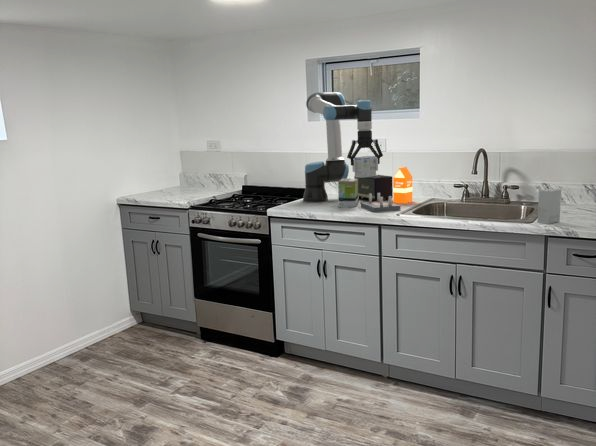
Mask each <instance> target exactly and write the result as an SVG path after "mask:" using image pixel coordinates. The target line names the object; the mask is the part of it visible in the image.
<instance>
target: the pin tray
mask: <svg viewBox="0 0 596 446" xmlns="http://www.w3.org/2000/svg"><path fill="white" fill-rule="evenodd" d="M392 199H393V197H392V196H389V200H384V199H383V197H380V193H377V201H376V202H375V201H373V199H372V193H369V199H368V201H367V202H360V208H362V209H364V210H367V211H370V212H371V213H382V212H383V213H384V212H395V211H401V205H400V204H398V203H394V202H393V200H392Z"/></svg>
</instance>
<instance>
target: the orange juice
mask: <svg viewBox="0 0 596 446" xmlns="http://www.w3.org/2000/svg"><path fill="white" fill-rule="evenodd" d="M392 188H393V203H394V202H395V203H394V204H408V202H409V203H411V202H413V176H412V174H411V172H410V171H409V169H408V167H407V166H403V167H399V168H398V170H397V171H396V173H395V174H394V176H392Z"/></svg>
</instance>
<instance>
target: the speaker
mask: <svg viewBox="0 0 596 446" xmlns="http://www.w3.org/2000/svg"><path fill="white" fill-rule="evenodd" d="M353 179H358V200H359V199H362V198H363V199H368V200H369V193H372V201H373V202H377V193H380V197H383V200H385V201H389V196H392V198H394V194H393V176H392V175H382V174H376V176H371V177H364V178H360V177H355V175H354V177H353Z"/></svg>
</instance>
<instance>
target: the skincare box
mask: <svg viewBox="0 0 596 446" xmlns="http://www.w3.org/2000/svg"><path fill="white" fill-rule="evenodd" d="M561 200H562V189H558V188H552V187H550V188H546V189H540V190H538V200H537V202H538V203H537V223H540V224H544V225H550V224H556V223H559V222H560V220H561V204H562V202H561Z"/></svg>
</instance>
